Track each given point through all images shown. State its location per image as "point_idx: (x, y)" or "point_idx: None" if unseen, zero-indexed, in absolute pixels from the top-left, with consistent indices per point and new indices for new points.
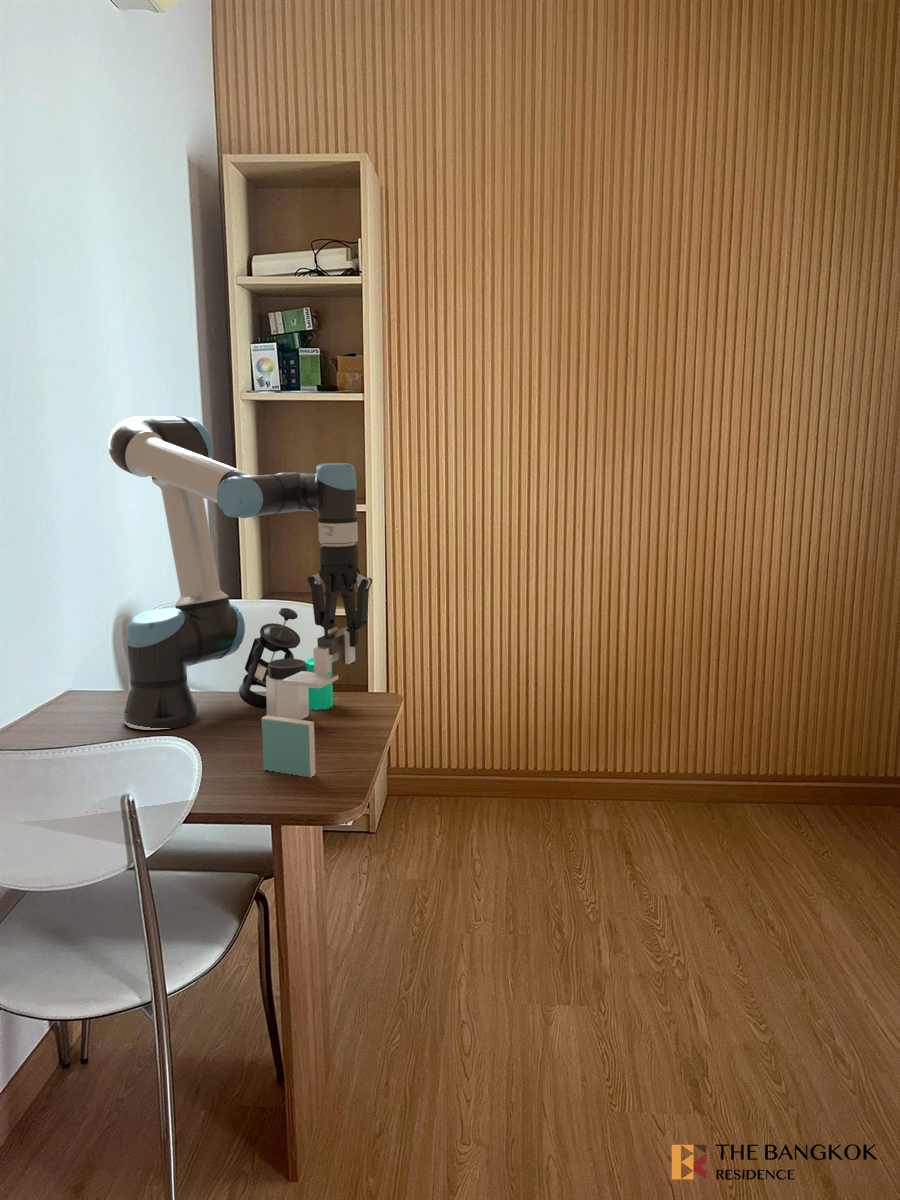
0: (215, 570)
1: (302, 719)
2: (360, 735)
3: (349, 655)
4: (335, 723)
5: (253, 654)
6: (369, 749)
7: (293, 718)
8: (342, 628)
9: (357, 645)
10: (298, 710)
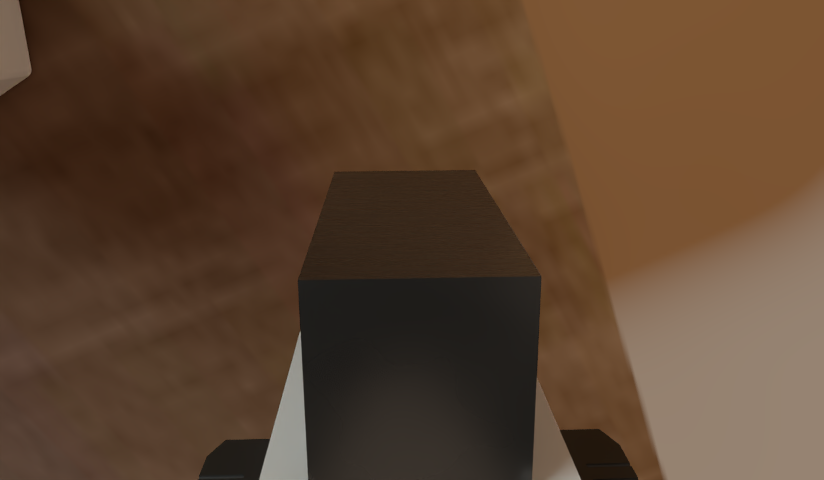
0: None
1: (23, 26)
2: (442, 131)
3: None
4: (222, 6)
5: None
6: (568, 284)
7: (2, 90)
8: (312, 385)
9: (599, 432)
10: (3, 76)
